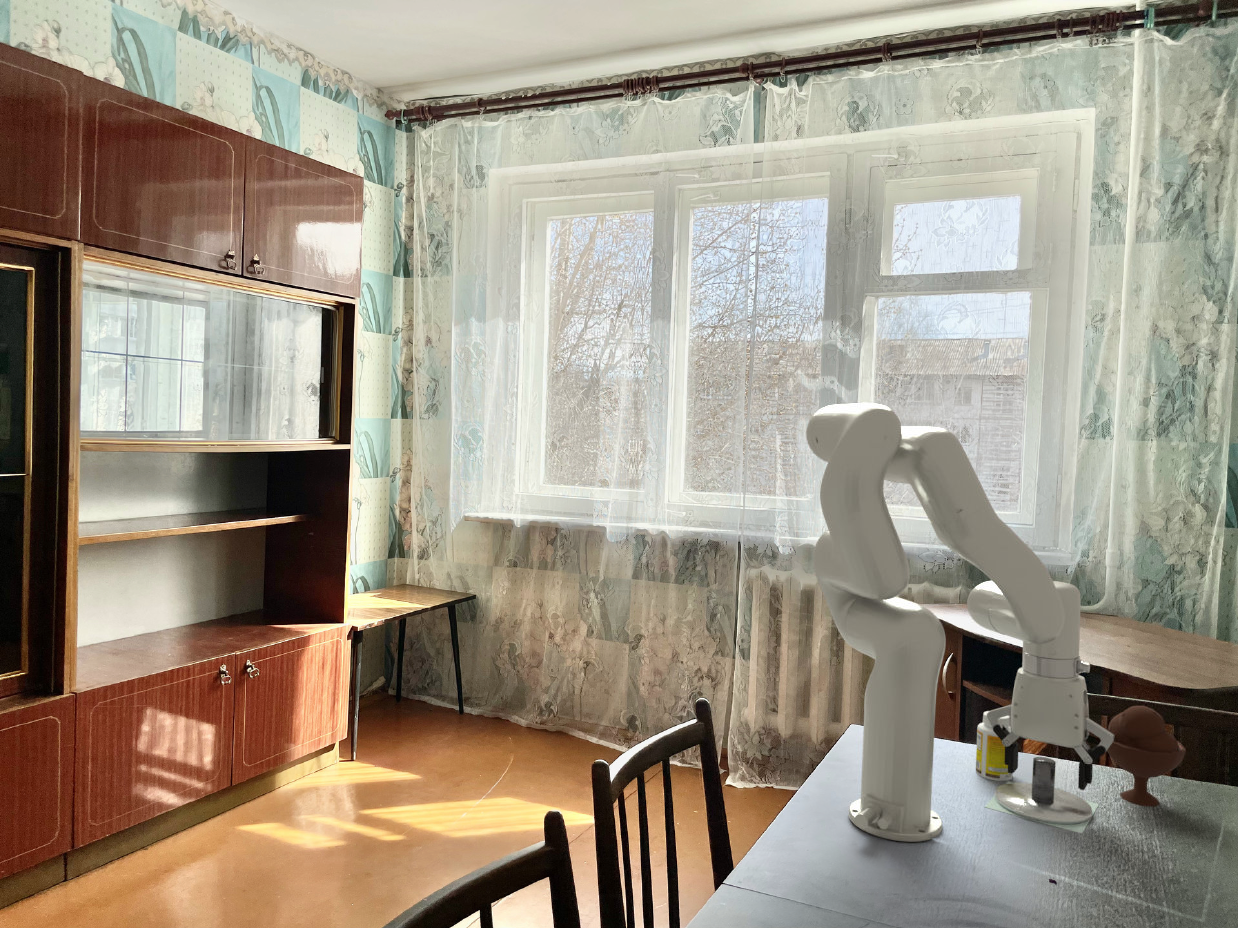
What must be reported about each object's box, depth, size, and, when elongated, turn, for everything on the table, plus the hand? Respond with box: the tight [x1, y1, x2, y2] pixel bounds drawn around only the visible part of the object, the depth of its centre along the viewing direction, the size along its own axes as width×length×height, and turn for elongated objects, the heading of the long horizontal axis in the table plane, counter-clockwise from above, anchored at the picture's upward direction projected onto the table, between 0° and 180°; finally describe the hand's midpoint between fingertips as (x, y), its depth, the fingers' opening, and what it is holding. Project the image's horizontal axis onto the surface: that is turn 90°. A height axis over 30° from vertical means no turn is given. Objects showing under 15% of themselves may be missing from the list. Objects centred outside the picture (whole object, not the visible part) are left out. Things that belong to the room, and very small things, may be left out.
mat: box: [984, 780, 1100, 835], centre depth 132 cm, size 13×13×1 cm
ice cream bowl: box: [1106, 705, 1187, 808], centre depth 135 cm, size 11×11×15 cm
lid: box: [994, 756, 1093, 825], centre depth 132 cm, size 13×13×7 cm
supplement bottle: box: [975, 710, 1014, 782], centre depth 143 cm, size 6×6×10 cm
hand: (1047, 778), depth 132 cm, fingers open, 9 cm apart
